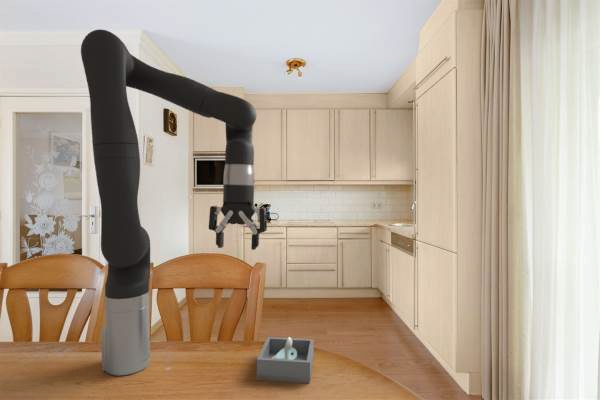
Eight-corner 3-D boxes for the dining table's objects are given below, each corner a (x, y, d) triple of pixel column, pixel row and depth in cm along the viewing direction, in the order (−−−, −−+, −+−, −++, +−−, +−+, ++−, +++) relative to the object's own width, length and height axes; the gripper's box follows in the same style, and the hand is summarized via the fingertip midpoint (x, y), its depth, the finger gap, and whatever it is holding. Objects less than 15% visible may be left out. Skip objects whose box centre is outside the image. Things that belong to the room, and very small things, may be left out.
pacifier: (266, 370, 80) (292, 372, 79) (265, 343, 80) (292, 344, 79) (274, 355, 87) (298, 356, 86) (273, 330, 87) (297, 331, 86)
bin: (256, 379, 78) (256, 359, 77) (267, 354, 89) (267, 337, 89) (309, 383, 76) (310, 362, 76) (313, 357, 88) (313, 339, 88)
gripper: (205, 182, 86) (204, 249, 86) (263, 184, 84) (261, 252, 84) (216, 183, 93) (215, 244, 93) (270, 184, 91) (268, 247, 92)
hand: (237, 248), depth 89 cm, fingers open, 8 cm apart
